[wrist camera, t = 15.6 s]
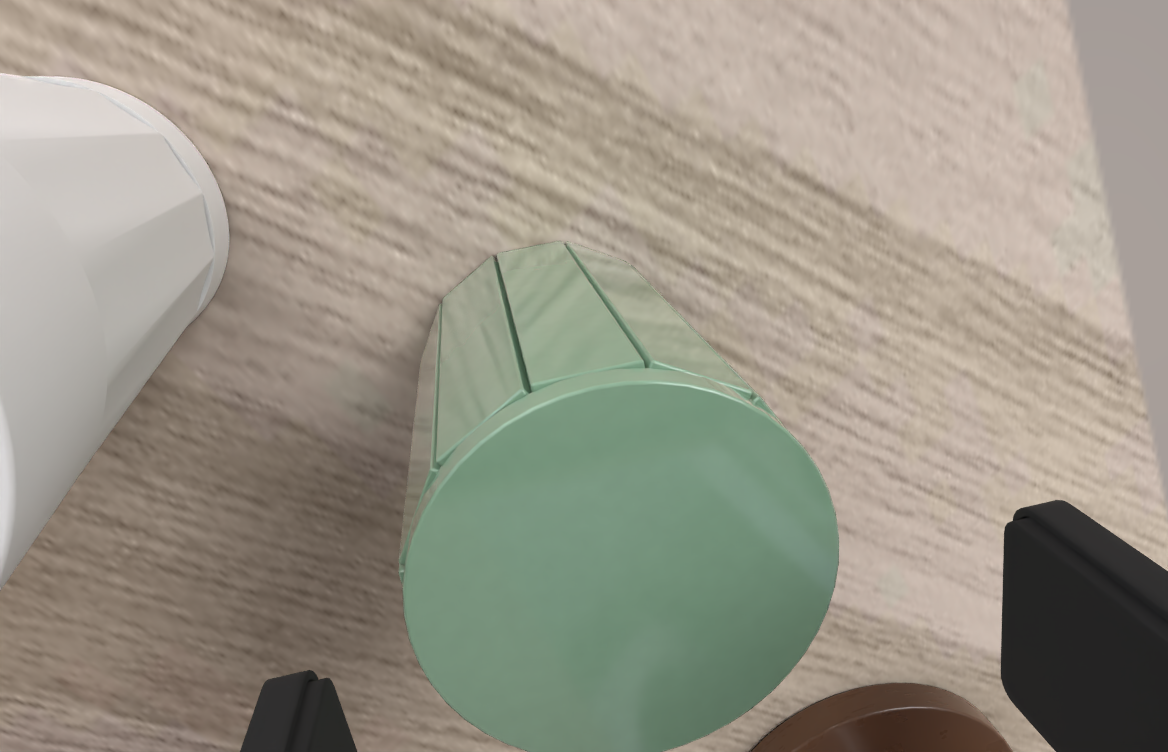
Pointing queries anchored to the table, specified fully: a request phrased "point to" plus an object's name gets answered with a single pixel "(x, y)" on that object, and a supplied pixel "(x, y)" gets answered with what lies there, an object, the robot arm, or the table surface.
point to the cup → (89, 277)
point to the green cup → (601, 515)
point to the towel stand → (887, 723)
